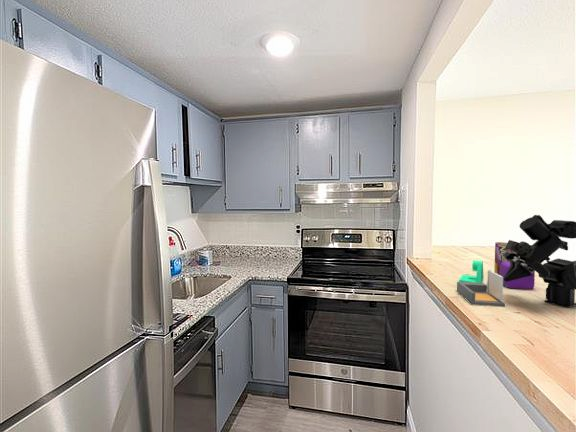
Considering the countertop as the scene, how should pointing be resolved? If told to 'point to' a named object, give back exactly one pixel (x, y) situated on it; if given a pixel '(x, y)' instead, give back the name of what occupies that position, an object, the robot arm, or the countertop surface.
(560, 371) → the countertop surface
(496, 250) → the candy box
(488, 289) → the door
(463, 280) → the camera mount
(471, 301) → the camera case
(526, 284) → the toy camera
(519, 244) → the robot arm
